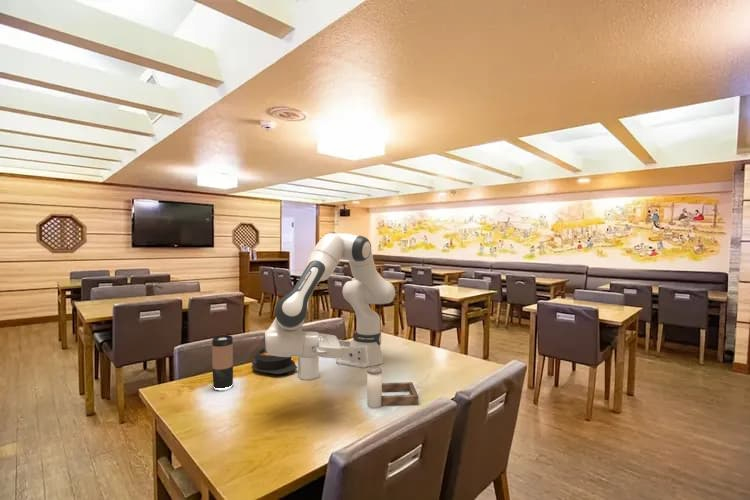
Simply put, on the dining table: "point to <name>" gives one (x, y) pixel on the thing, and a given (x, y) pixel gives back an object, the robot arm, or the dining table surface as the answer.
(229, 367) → the travel mug
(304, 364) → the jar
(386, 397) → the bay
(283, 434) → the dining table surface
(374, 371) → the canister
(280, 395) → the dining table surface
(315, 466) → the dining table surface
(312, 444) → the dining table surface
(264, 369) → the casserole
